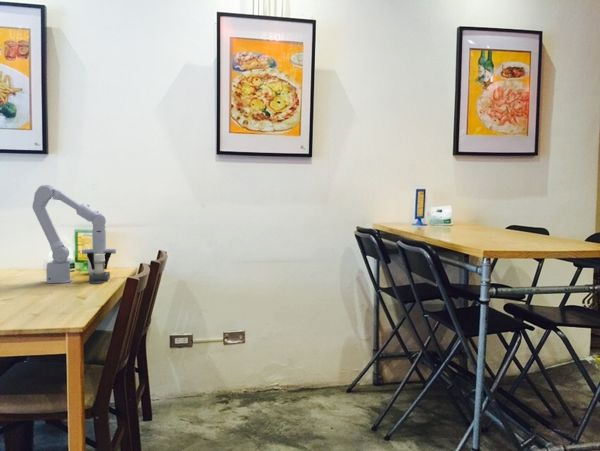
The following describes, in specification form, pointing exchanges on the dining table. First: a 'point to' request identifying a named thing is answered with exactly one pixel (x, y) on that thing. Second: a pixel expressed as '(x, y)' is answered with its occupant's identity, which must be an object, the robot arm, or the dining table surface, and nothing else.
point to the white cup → (96, 258)
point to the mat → (97, 282)
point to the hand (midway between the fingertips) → (99, 269)
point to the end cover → (99, 267)
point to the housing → (99, 277)
